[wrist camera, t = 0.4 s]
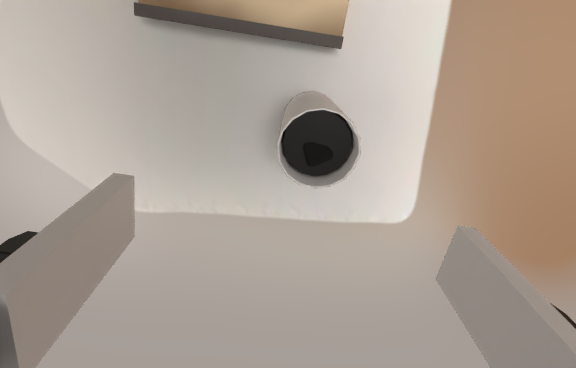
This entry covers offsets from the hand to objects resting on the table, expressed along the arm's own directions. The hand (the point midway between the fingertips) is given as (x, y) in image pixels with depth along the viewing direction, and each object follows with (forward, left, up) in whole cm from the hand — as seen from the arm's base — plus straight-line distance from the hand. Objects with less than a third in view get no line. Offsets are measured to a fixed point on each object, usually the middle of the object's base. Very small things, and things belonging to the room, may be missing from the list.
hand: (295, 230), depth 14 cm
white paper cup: (+1, +2, -24) cm, 24 cm away
